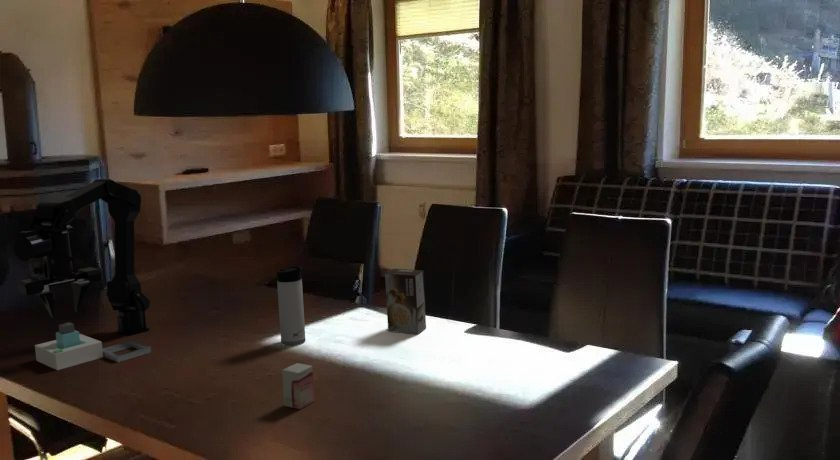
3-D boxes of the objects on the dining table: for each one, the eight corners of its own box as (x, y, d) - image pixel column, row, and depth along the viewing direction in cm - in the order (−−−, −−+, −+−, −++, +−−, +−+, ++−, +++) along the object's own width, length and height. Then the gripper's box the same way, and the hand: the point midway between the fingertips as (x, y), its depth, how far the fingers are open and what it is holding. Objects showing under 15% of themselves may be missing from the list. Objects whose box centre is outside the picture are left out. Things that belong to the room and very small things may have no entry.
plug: (74, 355, 196) (70, 321, 195) (81, 358, 193) (78, 323, 192) (58, 359, 193) (54, 325, 192) (66, 362, 191) (61, 327, 189)
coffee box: (427, 327, 210) (425, 270, 207) (418, 334, 204) (416, 275, 201) (396, 325, 213) (394, 268, 210) (386, 331, 207) (384, 273, 204)
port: (81, 348, 201) (80, 332, 201) (103, 357, 194) (101, 340, 193) (36, 360, 193) (34, 344, 192) (57, 370, 185) (55, 353, 185)
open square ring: (133, 345, 202) (132, 340, 202) (151, 352, 196) (150, 346, 196) (99, 355, 195) (99, 349, 195) (117, 362, 190) (117, 356, 189)
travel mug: (301, 346, 197) (297, 269, 194) (277, 345, 199) (272, 269, 195) (310, 338, 203) (305, 264, 200) (286, 338, 205) (281, 264, 201)
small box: (300, 410, 157) (297, 373, 156) (283, 406, 159) (281, 369, 158) (315, 401, 161) (313, 365, 160) (299, 397, 163) (297, 362, 162)
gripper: (80, 243, 201) (86, 301, 203) (4, 255, 187) (12, 318, 190) (100, 247, 194) (107, 308, 196) (23, 261, 180) (31, 325, 182)
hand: (64, 314), depth 191 cm, fingers open, 6 cm apart
